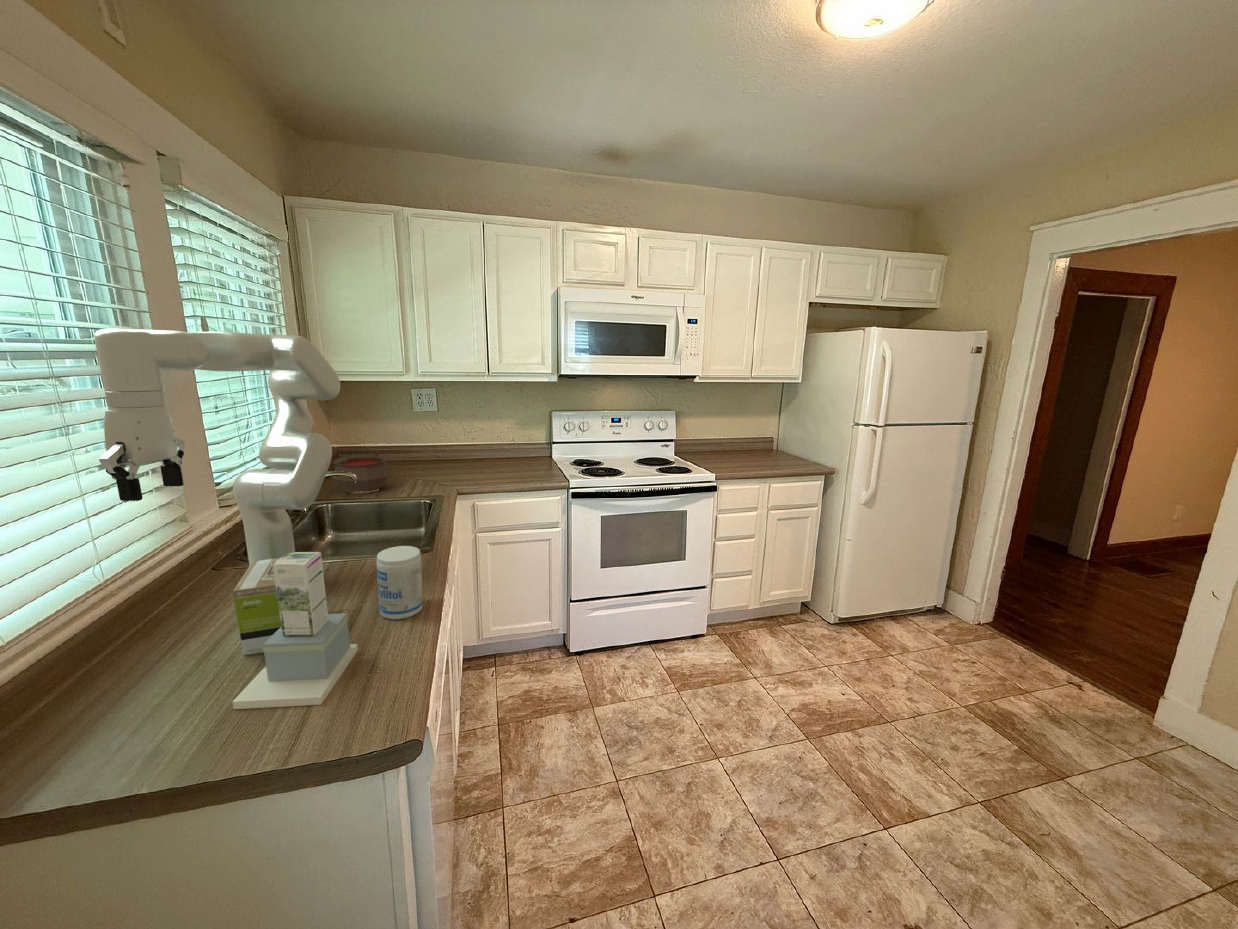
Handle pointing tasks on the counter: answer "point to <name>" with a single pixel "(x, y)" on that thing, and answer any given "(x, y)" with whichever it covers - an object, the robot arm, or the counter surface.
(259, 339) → the robot arm
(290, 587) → the syrup box
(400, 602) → the supplement tub
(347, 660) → the stand
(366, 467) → the dark round pot
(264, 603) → the tea box
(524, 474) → the counter surface
